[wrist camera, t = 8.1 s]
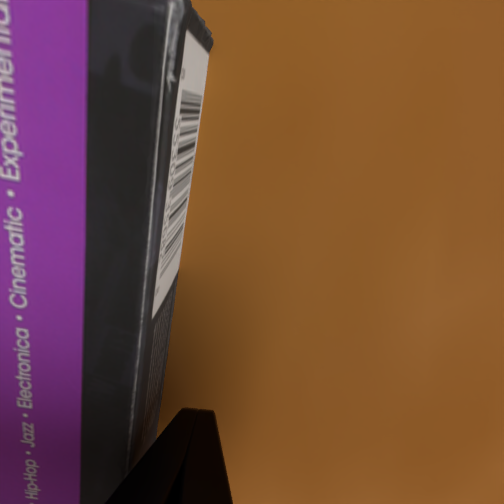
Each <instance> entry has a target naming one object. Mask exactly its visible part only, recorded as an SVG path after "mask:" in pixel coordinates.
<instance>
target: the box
mask: <svg viewBox="0 0 504 504" xmlns="http://www.w3.org/2000/svg"><path fill="white" fill-rule="evenodd" d="M211 34H212V33H211V31H210V30H209V29H208V28H207V27H206V26H205V21H204V20H203V19H202V18H201V17H200V16H199V15H198V13H197V12H196V10H195V9H194V8H193V7H192V4H191V1H190V0H0V504H104V503H105V502H106V501H107V499H108V498H109V497H110V496H111V495H112V493H113V492H114V491H115V490H116V488H117V487H118V486H119V485H120V483H121V482H122V481H123V480H124V479H125V477H126V476H127V475H128V474H129V472H130V471H131V470H132V469H133V467H134V466H135V465H136V464H137V463H138V461H139V460H140V459H141V458H142V456H143V455H144V454H145V453H146V452H147V450H148V449H149V448H150V447H151V445H152V444H153V443H154V442H155V440H156V434H157V426H158V419H159V412H160V406H161V399H162V391H163V383H164V375H165V368H166V361H167V355H168V346H169V339H170V331H171V322H172V316H173V309H174V302H175V294H176V286H177V278H178V270H179V263H180V256H181V249H182V242H183V234H184V227H185V220H186V214H187V207H188V200H189V194H190V187H191V180H192V173H193V167H194V160H195V153H196V146H197V139H198V131H199V124H200V117H201V110H202V103H203V96H204V89H205V82H206V75H207V67H208V59H209V52H210V50H211V48H212V46H213V39H212V37H211Z"/></svg>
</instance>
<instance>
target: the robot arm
mask: <svg viewBox="0 0 504 504" xmlns="http://www.w3.org/2000/svg"><path fill="white" fill-rule="evenodd" d="M104 504H233V501H232V496H231V491H230V486H229V481H228V476H227V471H226V466H225V461H224V456H223V451H222V446H221V441H220V437H219V432H218V427H217V422H216V417H215V413H214V411H213V410H206V409H199V410H198V409H196V408H187V407H184V408H182V409H181V410H180V411H179V412H178V413H177V415H176V416H175V417H174V418H173V420H172V421H171V422H170V423H169V424H168V426H167V427H166V428H165V429H164V431H163V432H162V433H161V434H160V436H159V437H158V438H157V439H156V440H155V442H154V443H153V444H152V445H151V447H150V448H149V449H148V450H147V452H146V453H145V454H144V455H143V456H142V458H141V459H140V460H139V461H138V463H137V464H136V465H135V466H134V467H133V469H132V470H131V471H130V472H129V474H128V475H127V476H126V477H125V479H124V480H123V481H122V482H121V483H120V485H119V486H118V487H117V488H116V490H115V491H114V492H113V493H112V495H111V496H110V497H109V498H108V499H107V501H106V502H105V503H104Z"/></svg>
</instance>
